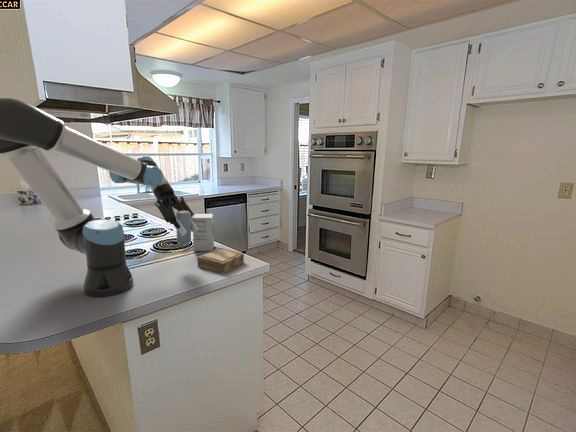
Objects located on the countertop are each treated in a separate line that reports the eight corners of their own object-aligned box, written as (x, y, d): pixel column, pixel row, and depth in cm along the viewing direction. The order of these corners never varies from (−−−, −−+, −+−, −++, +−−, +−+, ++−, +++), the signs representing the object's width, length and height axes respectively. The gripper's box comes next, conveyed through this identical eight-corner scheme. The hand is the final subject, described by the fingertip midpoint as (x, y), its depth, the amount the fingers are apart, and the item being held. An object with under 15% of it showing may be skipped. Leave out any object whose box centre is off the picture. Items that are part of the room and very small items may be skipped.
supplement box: (212, 251, 146) (212, 217, 142) (193, 251, 144) (192, 217, 140) (214, 245, 155) (213, 213, 151) (195, 245, 153) (194, 213, 149)
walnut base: (223, 272, 122) (223, 263, 121) (197, 265, 128) (197, 256, 127) (243, 262, 134) (243, 253, 133) (219, 255, 140) (219, 247, 139)
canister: (183, 244, 121) (183, 213, 118) (173, 241, 123) (173, 211, 121) (193, 241, 126) (193, 211, 123) (184, 238, 128) (183, 209, 125)
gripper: (174, 192, 136) (201, 233, 132) (137, 195, 119) (167, 242, 115) (182, 181, 132) (211, 223, 128) (146, 184, 116) (177, 232, 112)
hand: (190, 232), depth 122 cm, fingers closed on canister, 6 cm apart
